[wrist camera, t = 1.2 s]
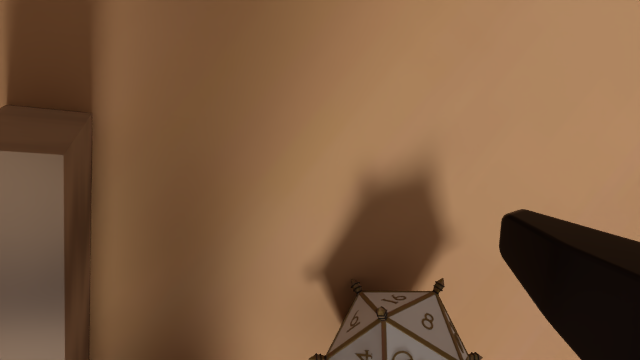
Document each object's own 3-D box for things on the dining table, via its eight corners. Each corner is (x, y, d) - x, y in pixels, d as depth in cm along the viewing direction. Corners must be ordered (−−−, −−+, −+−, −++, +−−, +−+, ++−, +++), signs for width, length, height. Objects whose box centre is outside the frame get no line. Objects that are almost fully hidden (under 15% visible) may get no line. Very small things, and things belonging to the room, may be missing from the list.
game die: (319, 293, 30) (255, 399, 21) (410, 219, 26) (380, 308, 17) (409, 387, 30) (384, 536, 20) (512, 325, 26) (538, 472, 17)
